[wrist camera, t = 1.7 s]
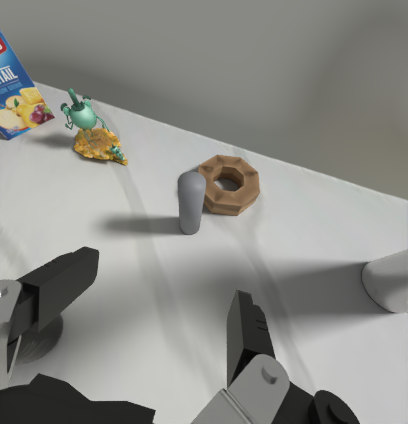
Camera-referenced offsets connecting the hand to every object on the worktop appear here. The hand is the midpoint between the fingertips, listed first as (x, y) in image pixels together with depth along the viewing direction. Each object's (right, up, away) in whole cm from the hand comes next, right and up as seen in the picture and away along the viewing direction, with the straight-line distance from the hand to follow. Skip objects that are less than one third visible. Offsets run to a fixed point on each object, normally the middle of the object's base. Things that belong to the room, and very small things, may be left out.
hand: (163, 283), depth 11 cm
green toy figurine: (-23, +19, +37) cm, 48 cm away
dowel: (-1, +1, +29) cm, 29 cm away
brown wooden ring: (+7, +9, +34) cm, 36 cm away
